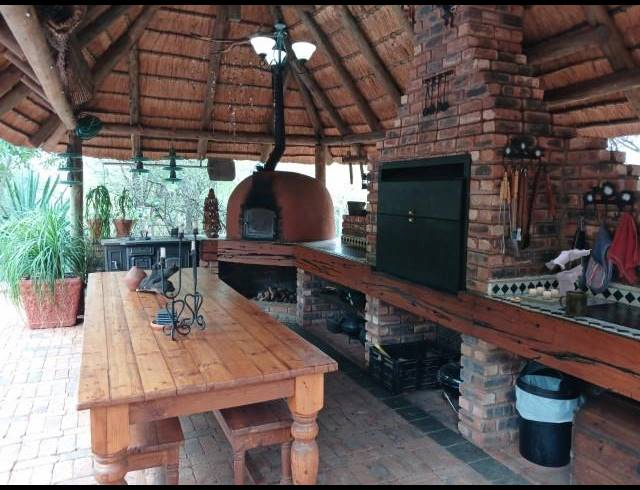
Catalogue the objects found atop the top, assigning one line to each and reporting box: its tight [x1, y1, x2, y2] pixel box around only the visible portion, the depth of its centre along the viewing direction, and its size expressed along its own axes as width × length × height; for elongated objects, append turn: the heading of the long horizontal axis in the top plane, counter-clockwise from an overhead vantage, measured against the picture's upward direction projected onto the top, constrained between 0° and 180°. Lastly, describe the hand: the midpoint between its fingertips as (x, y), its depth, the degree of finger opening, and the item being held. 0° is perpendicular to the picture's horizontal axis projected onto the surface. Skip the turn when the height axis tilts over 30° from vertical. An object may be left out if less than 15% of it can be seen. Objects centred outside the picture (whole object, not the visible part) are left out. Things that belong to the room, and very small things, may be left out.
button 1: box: [550, 288, 560, 298], centre depth 306 cm, size 4×4×4 cm
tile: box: [506, 296, 524, 302], centre depth 310 cm, size 9×9×1 cm
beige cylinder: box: [536, 286, 545, 295], centre depth 314 cm, size 4×4×4 cm
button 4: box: [528, 288, 537, 297], centre depth 308 cm, size 4×4×4 cm
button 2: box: [543, 290, 551, 300], centre depth 301 cm, size 4×4×4 cm
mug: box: [558, 290, 589, 317], centre depth 272 cm, size 11×15×12 cm
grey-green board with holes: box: [519, 292, 566, 306], centre depth 308 cm, size 20×20×2 cm
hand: (544, 273), depth 305 cm, fingers open, 7 cm apart
